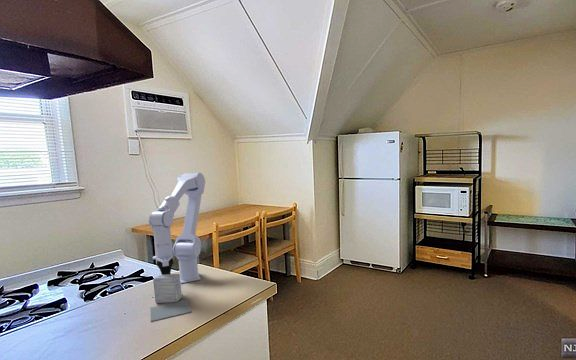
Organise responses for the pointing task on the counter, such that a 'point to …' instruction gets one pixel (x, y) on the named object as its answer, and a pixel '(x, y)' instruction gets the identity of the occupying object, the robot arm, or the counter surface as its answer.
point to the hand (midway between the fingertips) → (166, 279)
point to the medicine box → (167, 288)
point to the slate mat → (170, 310)
